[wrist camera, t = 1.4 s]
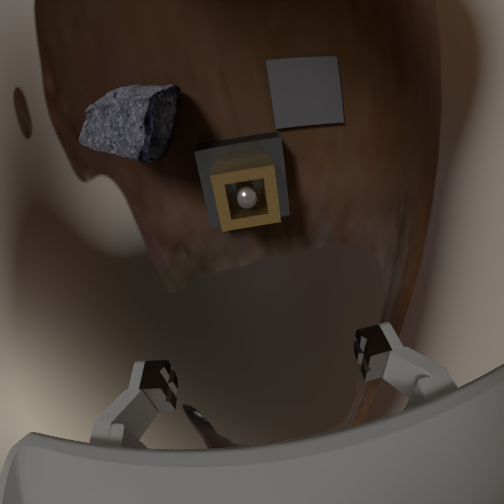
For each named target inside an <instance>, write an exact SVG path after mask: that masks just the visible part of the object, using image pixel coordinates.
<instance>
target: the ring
mask: <svg viewBox="0 0 504 504" xmlns="http://www.w3.org/2000/svg"><path fill="white" fill-rule="evenodd" d="M210 177H211V182H212V187H213V191H214V196H215V201H216V205H217V210H218V214H219V219H220V224H221V228H222V232H224V231H230V230H236V229H241V228H247V227H253V226H259V225H265V224H271V223H277V222H281V217H280V208H279V200H278V192H277V184H276V176H275V168H274V164H273V162H272V161H271V159H270V157H269V155H268V154H265V155H259V156H252V157H246V158H240V159H234V160H228V161H223V162H217V163H213V164H212V169H211V174H210ZM254 179H261V183H262V190H263V197H260V198H257V201H256V204H255V205H254V206H253V207H251V208H243V207H241V206H240V205H239V204H238V201H236V202H231V201H230V196H229V191H228V186H227V184H231V183H237V182H242V181H248V180H254Z"/></svg>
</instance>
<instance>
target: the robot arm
mask: <svg viewBox="0 0 504 504" xmlns="http://www.w3.org/2000/svg"><path fill="white" fill-rule="evenodd" d="M355 336H356V339H357V340H356V341H355V342H354V354H355V358H356V361H357V363H359V364H360V365H361V369H360V371H361V373H362V376H363V378H364V381H365V382H366V381H370V380H374V379H377V378H381V377H383V379H385V380H386V381H387V382H388V383H390V384H391V385H392V386H394V387H395V388H396V389H397V390H399V391H400V392H401V393H403V394H404V395H405V396H406V397H408V398H409V401H408V403H407V405H406V407H405V409H404V411H401V412H398V413H395V414H392V415H390V416H386V417H383V418H380V419H377V420H374V421H370V422H367V423H364V424H360V425H356V426H353V427H349V428H345V429H341V430H337V431H333V432H329V433H324V434H320V435H315V436H310V437H305V438H300V439H294V440H288V441H282V442H275V443H268V444H260V445H252V446H242V447H231V448H216V449H184V450H174V449H148V448H147V447H146V446H145V445H144V444H143V443H142V442H140V441H139V439H140V438H141V436H142V435H143V434H144V432H145V431H146V429H147V428H148V427H149V425H150V424H151V422H152V421H153V419H154V418H155V417H156V415H157V414H158V411H175V410H176V403H177V398H176V396H175V393H176V392H177V391H178V378H177V375H176V373H175V371H174V370H172V369H171V364H170V362H169V360H154V361H153V360H152V361H136V363H135V364H134V367H133V371H132V375H131V379H130V383H129V388H128V390H125V391H124V392H123V393H122V394H121V395H120V396H119V397H118V398H117V399H116V400H115V401H114V402H113V403H112V404H111V405H110V406H109V407H108V408H107V409H106V410H105V411H104V412H103V413H102V414H101V415H100V416H99V417H98V418H97V419H96V420H95V423H94V427H93V431H92V435H91V439H90V443H85V442H80V441H74V440H68V439H63V438H58V437H53V436H49V435H45V434H41V433H36V432H31V433H29V434H28V435H26V436H25V437H23V438H22V439H21V440H20V441H19V442H18V443H16V444H15V445H14V446H13V447H12V449H11V450H10V451H9V453H8V455H7V458H6V460H5V463H4V466H3V469H2V472H1V476H0V504H504V364H502V365H501V366H499V367H497V368H495V369H494V370H492V371H490V372H488V373H487V374H485V375H483V376H481V377H479V378H477V379H475V380H473V381H471V382H469V383H467V384H465V385H463V386H461V387H459V388H457V386H456V384H455V383H454V381H453V379H452V377H451V375H450V374H449V372H448V370H447V369H446V368H445V367H444V366H442V365H440V364H438V363H436V362H434V361H433V360H431V359H429V358H427V357H425V356H423V355H422V354H420V353H418V352H416V351H414V350H412V349H410V348H408V347H404V346H403V345H402V343H401V341H400V339H399V338H398V336H397V334H396V332H395V331H394V329H393V327H392V326H391V324H390V323H389V322H385V323H381V324H378V325H373V326H369V327H366V328H362V329H358V330H356V333H355Z"/></svg>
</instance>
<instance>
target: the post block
mask: <svg viewBox="0 0 504 504" xmlns="http://www.w3.org/2000/svg"><path fill="white" fill-rule="evenodd" d="M194 154H195V158H196V163H197V167H198V172H199V176H200V181H201V185H202V190H203V194H204V199H205V203H206V207H207V212H208V216H209V220H210V224H211V228H217V227H221V224H220V219H219V214H218V210H217V205H216V201H215V196H214V191H213V187H212V182H211V177H210V174H211V169H212V164H213V163H217V162H223V161H228V160H234V159H240V158H246V157H252V156H259V155H265V154H268V155H269V157H270V159H271V161H272V162H273V164H274V168H275V176H276V184H277V192H278V200H279V208H280V217H282V216H288V215H290V209H289V199H288V190H287V181H286V172H285V163H284V155H283V147H282V139H281V136H280V135H278V134H277V133H276V132H273V133H265V134H258V135H252V136H245V137H239V138H233V139H228V140H222V141H217V142H211V143H206V144H201V145H197V147H196V149H195V151H194ZM227 186H228V191H229V196H230V201H231V202H236V201H238V204H239V205H240V206H241V207H243V208H251V207H253V206H254V205H255V204H256V201H257V198H260V197H263V190H262V183H261V179H254V180H248V181H242V182H237V183H231V184H227Z"/></svg>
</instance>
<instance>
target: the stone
mask: <svg viewBox="0 0 504 504" xmlns="http://www.w3.org/2000/svg"><path fill="white" fill-rule="evenodd" d="M180 90H181V89H180V88H179V87H178V86H177V85H165V86H161V85H149V86H141V85H131V86H128V87H120V88H118V89H116V90H113V91H110V92H108V93H107V94H106V95H105V96H104V97H102V98H101V99H99V100H98V101H96V102H95V104H93V105H90V106H89V107H88V108H87V109H86V121H85V123H84V125H83V129H82V132H81V135H80V137H79V142H80V143H81V144H83V145H85V146H87V147H89V148H92V149H94V150H97V151H101V152H103V151H104V152H108V153H112V154H117V155H119V156H121V157H123V158H126V159H131V160H135V161H140V162H144V163H150V162H153V161H154V160H156V159H160V158H162V157H164V156H165V154H166V151H167V150H168V149H169V145H170V141H171V135H172V133H173V128H174V122H175V117H176V113H177V106H178V102H179V98H180ZM170 91H171V92H170ZM169 92H170V93H169ZM150 141H152V142H150Z"/></svg>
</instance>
